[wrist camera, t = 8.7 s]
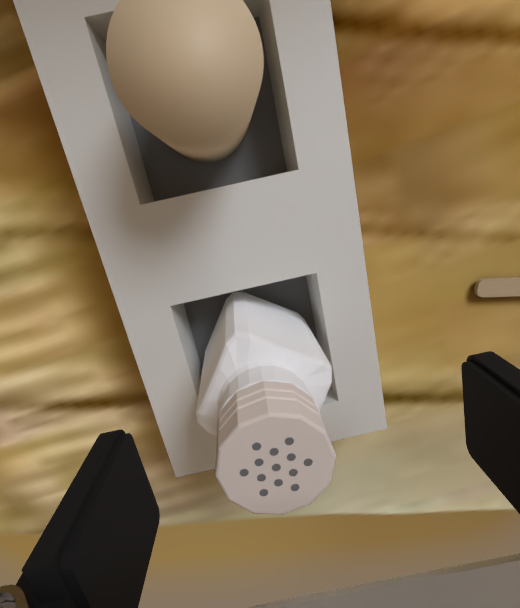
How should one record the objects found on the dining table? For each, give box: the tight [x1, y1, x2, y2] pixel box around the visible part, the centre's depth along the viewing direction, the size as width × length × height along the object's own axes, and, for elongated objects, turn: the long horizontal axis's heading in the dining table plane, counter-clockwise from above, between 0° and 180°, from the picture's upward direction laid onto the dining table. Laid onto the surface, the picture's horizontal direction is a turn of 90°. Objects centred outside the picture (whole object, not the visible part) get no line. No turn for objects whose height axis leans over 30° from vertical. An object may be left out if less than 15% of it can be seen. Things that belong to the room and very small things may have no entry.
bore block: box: [13, 0, 387, 478], centre depth 15 cm, size 10×20×8 cm, turn 12°
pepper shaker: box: [196, 292, 336, 515], centre depth 15 cm, size 4×4×10 cm
